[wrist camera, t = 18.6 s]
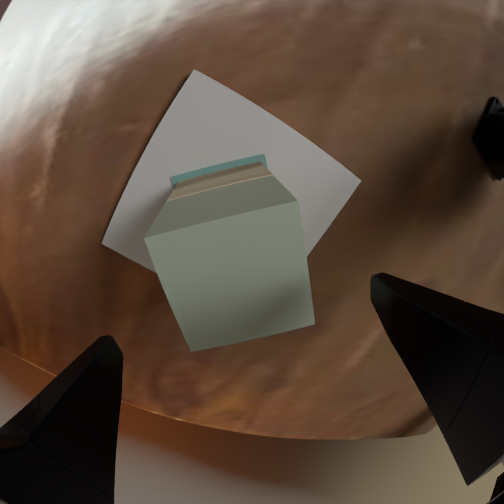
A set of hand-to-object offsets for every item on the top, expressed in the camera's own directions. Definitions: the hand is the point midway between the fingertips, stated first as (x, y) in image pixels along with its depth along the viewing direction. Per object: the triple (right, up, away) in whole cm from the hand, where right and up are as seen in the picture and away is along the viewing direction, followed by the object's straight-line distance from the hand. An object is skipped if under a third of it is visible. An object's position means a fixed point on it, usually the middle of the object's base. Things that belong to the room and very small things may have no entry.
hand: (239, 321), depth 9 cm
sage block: (-1, +3, +6) cm, 7 cm away
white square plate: (-1, +5, +12) cm, 13 cm away
